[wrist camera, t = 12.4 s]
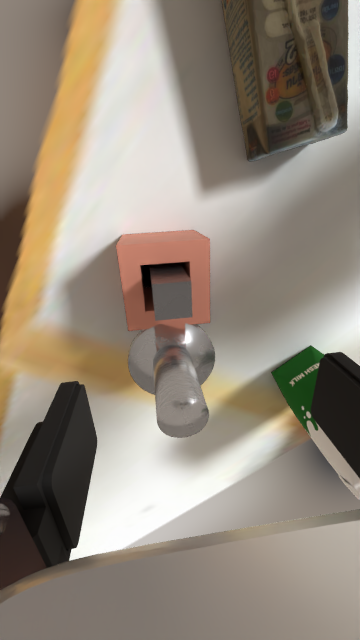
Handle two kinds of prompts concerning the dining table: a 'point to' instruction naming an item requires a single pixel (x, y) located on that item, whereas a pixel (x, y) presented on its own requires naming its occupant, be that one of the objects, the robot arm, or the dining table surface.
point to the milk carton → (298, 392)
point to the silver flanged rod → (174, 376)
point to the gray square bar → (170, 291)
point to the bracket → (158, 250)
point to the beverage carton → (288, 71)
